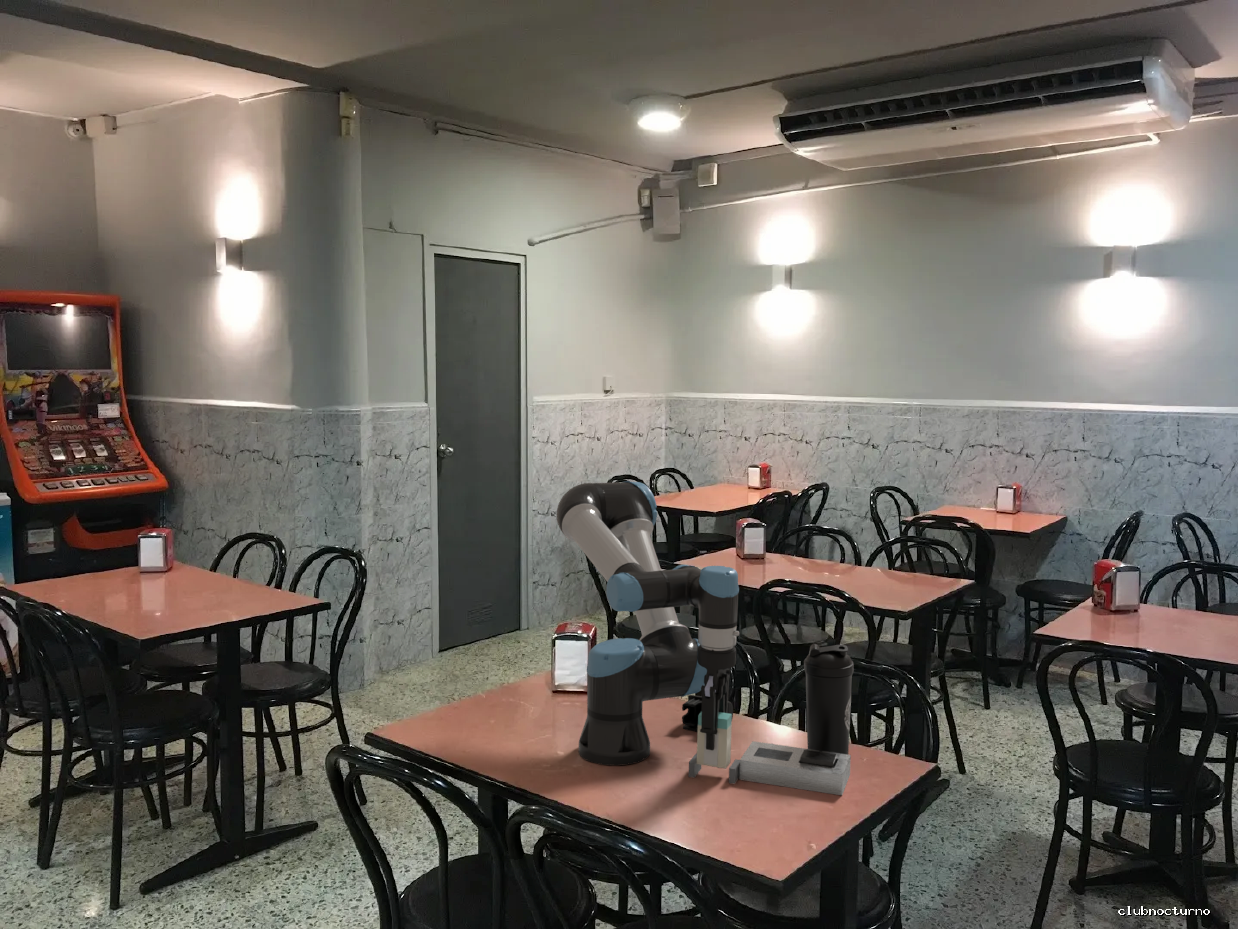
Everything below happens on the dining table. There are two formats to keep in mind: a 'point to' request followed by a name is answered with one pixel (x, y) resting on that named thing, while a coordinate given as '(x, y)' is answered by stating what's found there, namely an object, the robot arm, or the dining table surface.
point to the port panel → (795, 767)
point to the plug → (724, 740)
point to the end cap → (695, 712)
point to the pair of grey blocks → (733, 769)
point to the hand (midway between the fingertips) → (713, 760)
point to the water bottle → (828, 698)
